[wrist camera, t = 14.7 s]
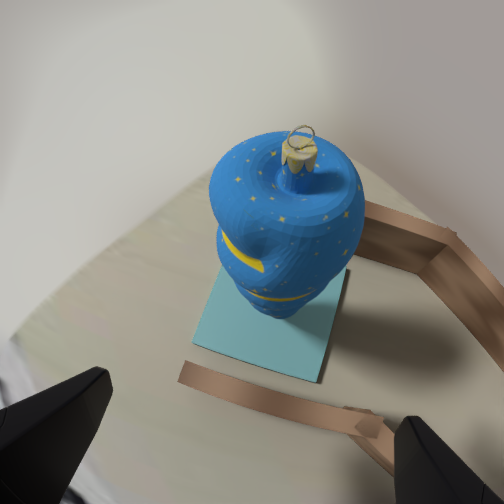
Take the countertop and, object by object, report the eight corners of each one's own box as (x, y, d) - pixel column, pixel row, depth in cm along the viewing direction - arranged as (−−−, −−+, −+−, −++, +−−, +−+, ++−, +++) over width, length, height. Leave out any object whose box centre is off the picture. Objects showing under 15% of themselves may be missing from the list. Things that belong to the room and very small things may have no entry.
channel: (525, 442, 14) (562, 441, 10) (232, 555, 13) (225, 591, 8) (455, 189, 25) (478, 157, 20) (180, 225, 24) (163, 187, 19)
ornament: (228, 285, 21) (169, 98, 8) (298, 261, 22) (332, 64, 8) (253, 357, 19) (218, 252, 6) (328, 329, 20) (437, 181, 6)
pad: (345, 268, 22) (346, 266, 22) (314, 382, 19) (315, 382, 18) (235, 235, 23) (234, 233, 23) (192, 343, 20) (191, 342, 20)
